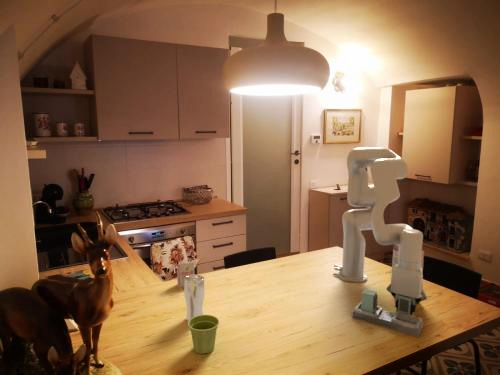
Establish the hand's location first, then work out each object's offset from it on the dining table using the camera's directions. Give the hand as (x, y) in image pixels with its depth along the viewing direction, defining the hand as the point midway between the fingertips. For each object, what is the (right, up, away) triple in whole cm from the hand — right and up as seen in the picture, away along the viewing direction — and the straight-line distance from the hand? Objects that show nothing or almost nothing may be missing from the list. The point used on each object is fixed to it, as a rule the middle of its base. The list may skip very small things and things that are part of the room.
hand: (404, 311), depth 136 cm
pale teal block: (0, -1, 0) cm, 1 cm away
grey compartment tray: (-9, -2, -6) cm, 11 cm away
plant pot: (-71, -4, -23) cm, 74 cm away
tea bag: (-84, +3, +24) cm, 87 cm away
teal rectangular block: (-14, +1, -3) cm, 14 cm away
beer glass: (-76, -1, -4) cm, 76 cm away
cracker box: (+7, +1, +16) cm, 17 cm away
